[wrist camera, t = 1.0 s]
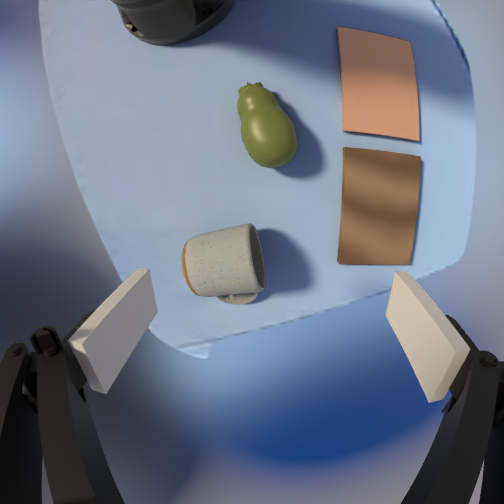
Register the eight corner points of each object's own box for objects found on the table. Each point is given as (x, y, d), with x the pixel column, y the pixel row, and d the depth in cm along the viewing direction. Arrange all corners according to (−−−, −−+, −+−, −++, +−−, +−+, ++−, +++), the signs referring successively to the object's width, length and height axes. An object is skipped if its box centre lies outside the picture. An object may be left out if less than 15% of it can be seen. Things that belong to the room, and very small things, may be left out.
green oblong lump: (251, 172, 26) (220, 86, 25) (258, 176, 31) (231, 102, 30) (306, 153, 25) (271, 68, 23) (304, 161, 30) (274, 87, 29)
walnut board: (343, 147, 29) (345, 147, 28) (416, 156, 28) (420, 156, 27) (337, 260, 34) (339, 264, 33) (405, 261, 33) (409, 264, 32)
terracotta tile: (336, 29, 24) (338, 26, 23) (408, 43, 23) (410, 42, 22) (343, 131, 29) (344, 130, 28) (416, 140, 28) (419, 140, 27)
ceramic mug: (190, 230, 34) (169, 252, 27) (254, 215, 33) (248, 234, 26) (215, 303, 38) (202, 336, 30) (273, 292, 36) (272, 326, 29)
